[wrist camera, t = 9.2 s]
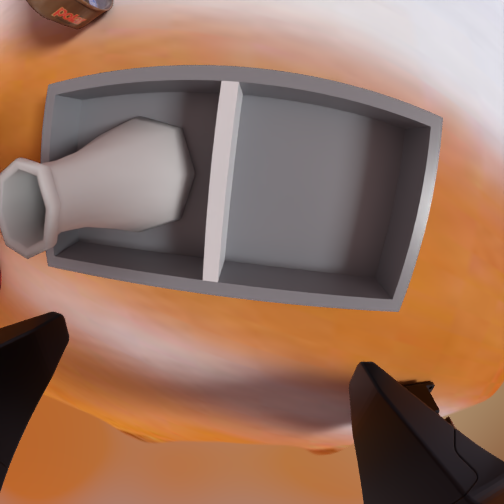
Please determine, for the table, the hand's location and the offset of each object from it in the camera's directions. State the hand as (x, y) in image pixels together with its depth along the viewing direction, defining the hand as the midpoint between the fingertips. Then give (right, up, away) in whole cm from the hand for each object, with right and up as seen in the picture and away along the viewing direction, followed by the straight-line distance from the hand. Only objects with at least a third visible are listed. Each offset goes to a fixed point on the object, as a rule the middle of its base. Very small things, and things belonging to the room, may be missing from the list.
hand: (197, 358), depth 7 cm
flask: (-5, +8, +9) cm, 13 cm away
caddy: (0, +7, +9) cm, 12 cm away
